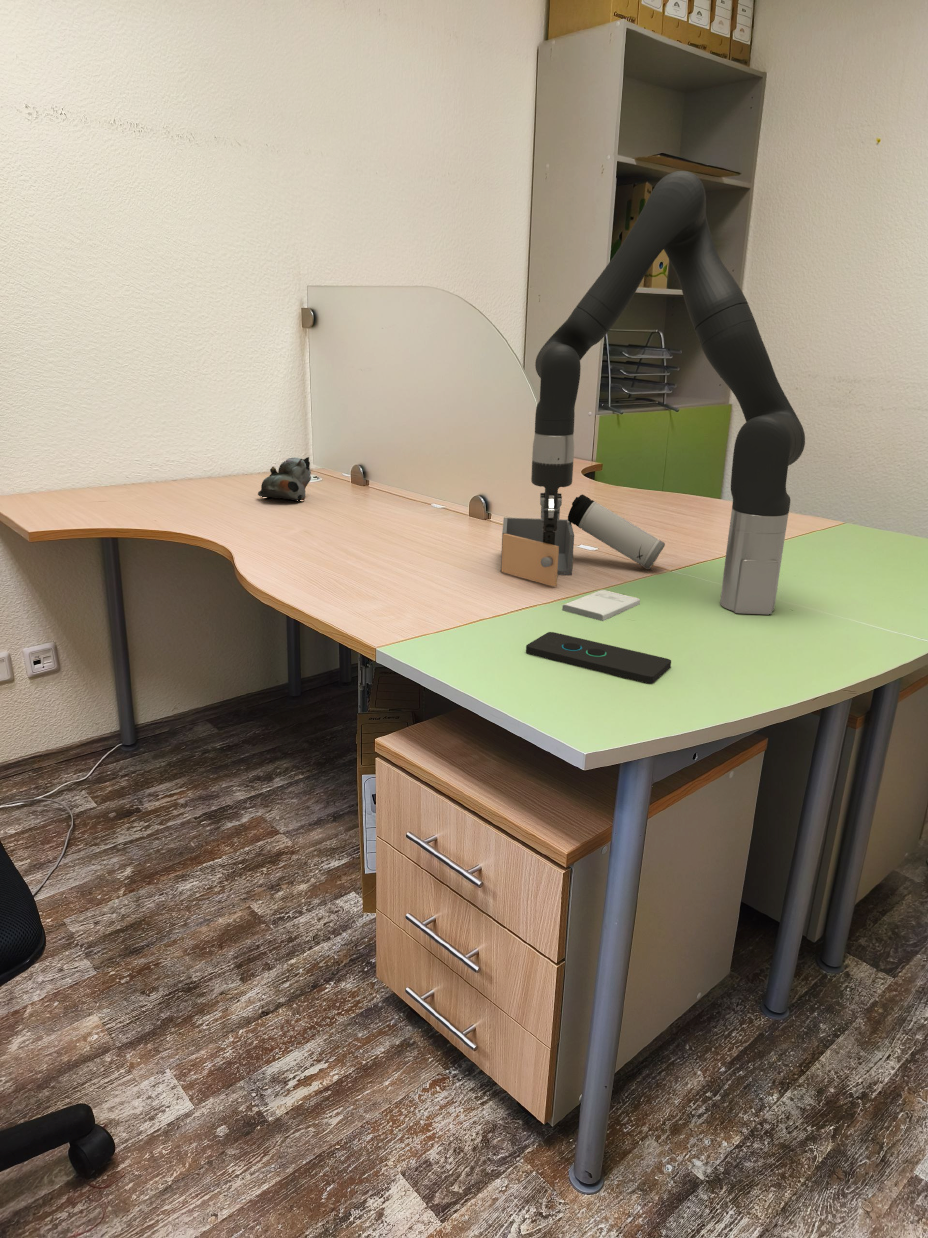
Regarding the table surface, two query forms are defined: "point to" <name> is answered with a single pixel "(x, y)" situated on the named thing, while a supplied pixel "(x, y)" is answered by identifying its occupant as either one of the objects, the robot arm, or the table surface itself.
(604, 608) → the external hard drive
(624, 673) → the smart home device
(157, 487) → the table surface
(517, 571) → the side door
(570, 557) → the storage box
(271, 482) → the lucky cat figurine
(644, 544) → the travel mug
